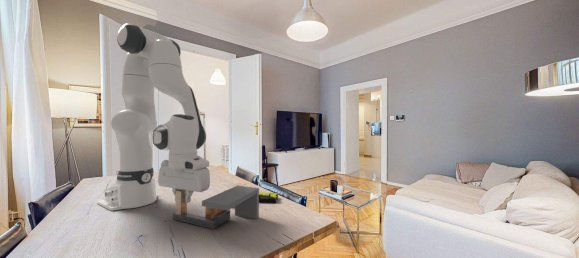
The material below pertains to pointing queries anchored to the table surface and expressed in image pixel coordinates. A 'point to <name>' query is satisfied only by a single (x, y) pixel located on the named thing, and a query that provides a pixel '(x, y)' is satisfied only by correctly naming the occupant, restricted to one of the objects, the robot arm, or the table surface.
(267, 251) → the table surface
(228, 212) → the tan-tipped l-shaped bar
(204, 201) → the grey l-shaped bookend
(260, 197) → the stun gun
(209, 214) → the cube
